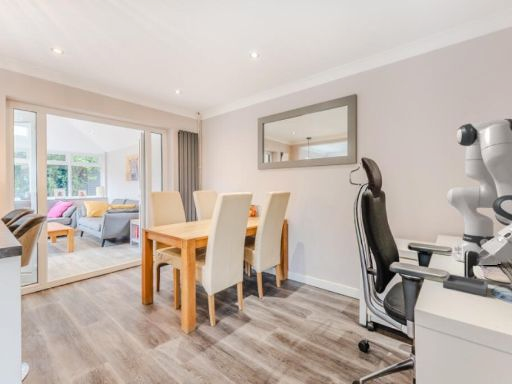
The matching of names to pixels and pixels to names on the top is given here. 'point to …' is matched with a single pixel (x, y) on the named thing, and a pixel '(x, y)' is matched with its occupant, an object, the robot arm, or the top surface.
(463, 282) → the grey tray
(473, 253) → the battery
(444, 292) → the top surface
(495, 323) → the top surface
